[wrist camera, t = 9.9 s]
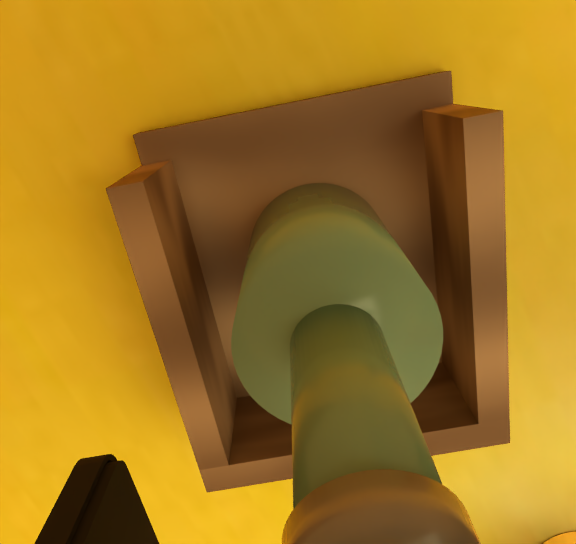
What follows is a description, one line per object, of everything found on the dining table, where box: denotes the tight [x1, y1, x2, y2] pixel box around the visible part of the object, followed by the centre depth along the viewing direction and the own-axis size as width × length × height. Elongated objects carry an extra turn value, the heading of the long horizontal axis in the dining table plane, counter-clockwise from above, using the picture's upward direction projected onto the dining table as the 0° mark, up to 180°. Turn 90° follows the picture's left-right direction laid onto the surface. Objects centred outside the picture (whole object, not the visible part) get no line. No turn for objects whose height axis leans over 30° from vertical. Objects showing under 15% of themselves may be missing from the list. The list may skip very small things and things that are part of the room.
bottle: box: [231, 183, 481, 544], centre depth 14 cm, size 6×6×15 cm
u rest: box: [106, 71, 510, 492], centre depth 19 cm, size 14×12×5 cm
